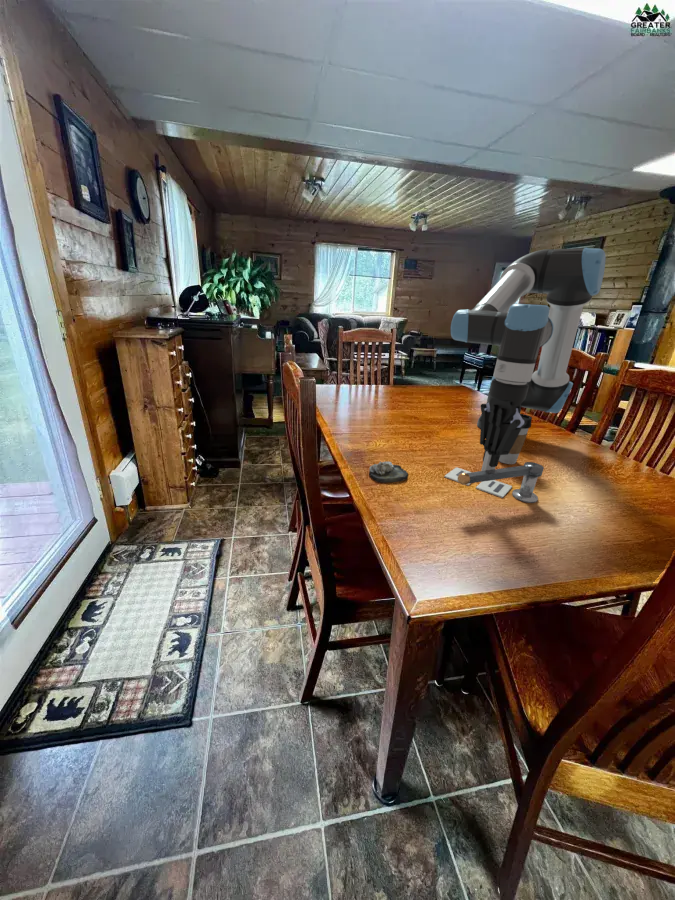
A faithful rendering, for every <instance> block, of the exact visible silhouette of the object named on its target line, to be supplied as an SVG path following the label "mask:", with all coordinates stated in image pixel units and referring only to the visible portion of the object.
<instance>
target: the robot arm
mask: <svg viewBox="0 0 675 900" xmlns="http://www.w3.org/2000/svg"><path fill="white" fill-rule="evenodd" d="M606 257H607V256H606V252H605V251H604V249H602V248H597V247H596V248H592V247H591V248H590V247H587V246H586V247H577V248H573V247H572V248H556V249H550V248H547V249H546V248H545V249H540V250H536V251H533V252H530V253H527V254H525V255H523V256H521V257H519V258H517V259H516V260H515V261H513V262H511V263H510V264H509V265H507V267H506V268H505V269H504V270H503V271H502V273H501V275H500V276H499V277H500V278H499V280H498V282H496V284H495V285H494V286H493V287H492V288H491V289H490V290H489V291H488V292H487V293H486V295H484V297H482V298H481V300H480V301H479V302H477V304H476V305H475V306H474V307H473V308H472V309H468V308H467V309H458V310H457V311H456V312H455V313H454V314H453V317H452V320H451V322H450V323H451V324H450V336H451V338H452V339H453V340H454V341H458V342H464V343H471V344H484V345H491V346H499V349H498V354H497V358H496V363H495V366H494V370H493V376H492V377H491V381H490V385H489V386H490V387H489V389H488V395H487V399H486V402H485V403H481V404H480V412H481V413H480V415H479V417H478V419H477V423H476V426H477V427H478V428H479V429H480V434H479V435H480V437H479V444H480V445H482V446H483V449H484V452H483V456H482V467H481V469H480V471H486V470H494V469H496V467H498V465H499V458H500V455H507V454H509V452H510V450H511V448H512V446H513V444H514V442H515V440H516V438H517V437H518V435H519V433H520V431H521V429H522V428H523V427H524V426H525V425H526V424H527V420H526V419H522V417H521V415H520V414H521V411H522V409H521V408H525V409H531V410H536V411H540V412H545V413H551V414H557V413H560V412H561V411H562V410H563V407H564V405H565V403H566V400H567V399H568V396H569V395H570V393H571V390H572V388H573V385H574V383H573V382H572V381H570V375H569V374H568V373H567V369H568V366H569V362H570V358H571V355H572V351H573V347H574V343H575V339H576V335H577V333H578V328H579V324H580V321H581V316H582V311H583V309H584V306H586V305H587V304H588V303H590V302H591V300H592V299H593V297H594V296H596V295H598V294H599V293H600V291H601V289H602V285H603V280H604V274H605V270H606ZM531 293H532V294H534V293H535V294H546V299H545V301H546V302H547V304H548V305H549V306H548V305H546V304H545V305H544V304H543V305H542V304H530V303H527V304H526V303H517V302H518V300H519V299H520V298H521V297H524V296H525V295H527V294H531ZM540 348H541V352H540V357H539V362H538V365H537V369H536V370H535V365H536V361H537V358H538V355H539V351H540Z"/></svg>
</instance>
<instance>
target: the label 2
mask: <svg viewBox="0 0 675 900" xmlns="http://www.w3.org/2000/svg"><path fill="white" fill-rule="evenodd" d="M475 489H476V490H479V491H482V492H484V493H488V494H490V495H493V496H495V497H499V498H501V499H503V498H505V496H506V495H507V494H508V493H509V491H510V490H511V489H513V485H510V484H507V483H504V482H501V481H498V480H490V481H483V482H479V484H478V485H476V487H475Z"/></svg>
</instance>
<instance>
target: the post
mask: <svg viewBox="0 0 675 900" xmlns="http://www.w3.org/2000/svg"><path fill="white" fill-rule="evenodd" d="M522 477H523V478H522V481H521V485H520V488H517V489H516V488H515V489H513V490H512V493H511V496H513V498H514V499H516V500H518V501H521V502H523V503H527V504H535V503H537V502H538V500H539V497H538V495H537V494H536V493H534V490H535V487H536V483H537V481H538V478H539V477H533V476H529V475H525V476H522Z"/></svg>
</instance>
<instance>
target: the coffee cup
mask: <svg viewBox="0 0 675 900" xmlns="http://www.w3.org/2000/svg"><path fill="white" fill-rule="evenodd" d="M520 415H521V417H522V419H526V420H527V424H526V425H525V426H524V427H523V428H522V429H521V431H520V433H519V435H518V437H517V438H516V440H515V442H514V444H513V446H512V448H511V450H510V452H509V454H507V455H500V458H499V461H498V463H499V462H500V463H502V464H505V465H515V464H516V463H517V461H518V458H519V456H520V453H521V451H522V448H523V446H524V443H525V441H526V438H527V436H528V431H529V429H530V428H531V426H532V421H533V417H532V416H531V415H528V414H525V413H524V414H523V413H520Z"/></svg>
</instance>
